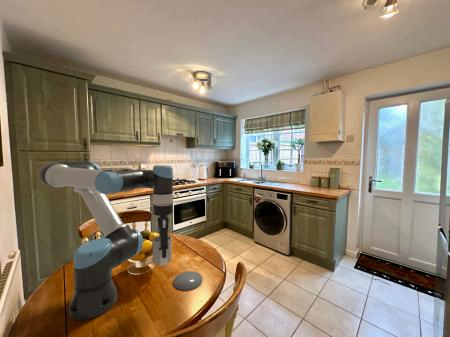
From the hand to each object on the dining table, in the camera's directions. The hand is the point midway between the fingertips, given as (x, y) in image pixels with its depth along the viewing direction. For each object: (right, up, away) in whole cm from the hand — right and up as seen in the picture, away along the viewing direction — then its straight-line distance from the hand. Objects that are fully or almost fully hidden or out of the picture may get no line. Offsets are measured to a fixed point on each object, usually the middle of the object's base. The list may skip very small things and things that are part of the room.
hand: (163, 258), depth 77 cm
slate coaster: (+8, -15, +10) cm, 20 cm away
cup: (0, 0, 0) cm, 0 cm away
